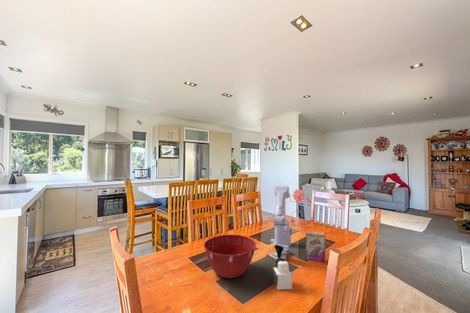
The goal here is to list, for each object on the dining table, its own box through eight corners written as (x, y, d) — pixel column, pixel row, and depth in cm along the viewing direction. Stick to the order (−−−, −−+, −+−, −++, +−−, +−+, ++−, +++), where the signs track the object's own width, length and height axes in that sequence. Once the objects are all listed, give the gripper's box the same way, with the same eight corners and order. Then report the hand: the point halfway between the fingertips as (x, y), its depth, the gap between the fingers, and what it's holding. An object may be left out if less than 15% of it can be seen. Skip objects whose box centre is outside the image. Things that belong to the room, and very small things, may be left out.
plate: (278, 251, 140) (278, 251, 140) (287, 257, 132) (287, 256, 132) (265, 255, 134) (265, 254, 134) (275, 260, 127) (275, 260, 127)
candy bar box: (305, 260, 128) (305, 233, 128) (305, 256, 132) (305, 230, 133) (325, 263, 124) (325, 235, 125) (324, 259, 129) (324, 232, 129)
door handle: (282, 250, 139) (282, 245, 139) (288, 250, 138) (288, 246, 138) (280, 258, 126) (280, 253, 126) (286, 259, 125) (286, 254, 125)
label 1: (273, 253, 136) (273, 252, 136) (280, 257, 130) (280, 256, 130) (268, 254, 134) (268, 254, 134) (276, 259, 128) (276, 258, 128)
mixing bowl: (238, 294, 94) (238, 259, 94) (192, 275, 109) (192, 246, 110) (264, 268, 118) (264, 240, 118) (223, 256, 133) (223, 231, 133)
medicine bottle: (273, 281, 104) (273, 257, 105) (287, 281, 105) (286, 256, 105) (277, 290, 97) (277, 264, 97) (292, 289, 98) (292, 263, 98)
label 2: (278, 252, 139) (278, 251, 139) (286, 256, 133) (286, 255, 133) (274, 253, 137) (274, 252, 137) (281, 257, 131) (281, 256, 131)
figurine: (309, 229, 189) (309, 190, 191) (283, 224, 205) (283, 188, 207) (315, 226, 201) (314, 189, 203) (289, 221, 217) (289, 187, 219)
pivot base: (285, 251, 141) (285, 249, 141) (291, 254, 136) (291, 252, 136) (278, 253, 138) (278, 251, 138) (285, 256, 133) (285, 254, 133)
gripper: (266, 232, 133) (266, 254, 132) (282, 240, 120) (282, 263, 120) (275, 231, 136) (275, 252, 136) (291, 238, 124) (291, 261, 123)
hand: (279, 257), depth 128 cm, fingers closed, pressing on door handle
